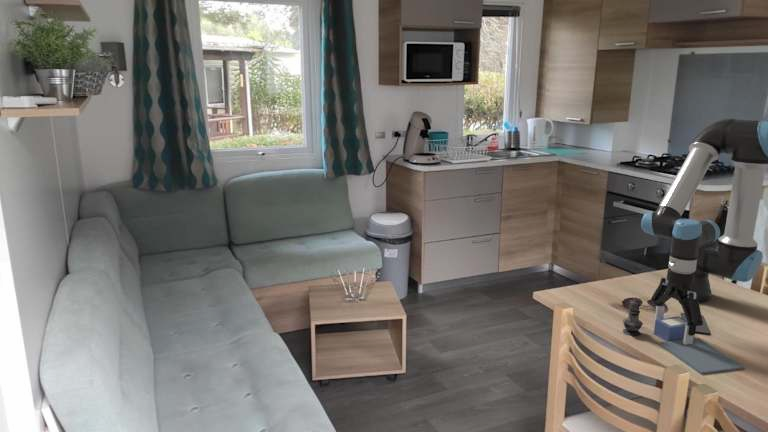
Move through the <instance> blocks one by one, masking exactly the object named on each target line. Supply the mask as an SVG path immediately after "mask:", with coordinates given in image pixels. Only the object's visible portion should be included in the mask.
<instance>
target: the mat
mask: <svg viewBox="0 0 768 432" xmlns="http://www.w3.org/2000/svg"><path fill="white" fill-rule="evenodd" d="M658 345H659V346H660V347H661V348H662V349H664V350H665V351H667V352H669V353H670V354H671V355H673V356H674V357H676V358H677V359H679V360H680V361H681V362H683V363H684V364H686V365H688V367H690V368H692V370H694V371H696V372H697V373H698V374H700V375H707V374H714V373H715V374H716V373H720V372H721V373H722V372H728V371H729V372H731V371H735V370H736V371H737V370H742V369H743V370H745V366H744V365H742V364H741V363H739V362H737V360H734V359H733V358H731V357H729V356H728V355H726V353H723V352H721V351H720V350H718V349H717V348H715V347H714V346H712V345H711V344H709V343H707V342H705V341H704V340H703V339H701V338H699V337H695V338H694V337H693V343H692V344H686V345H684V344H683V340H677V341H668V342H666V341H662V342H658Z"/></svg>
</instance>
